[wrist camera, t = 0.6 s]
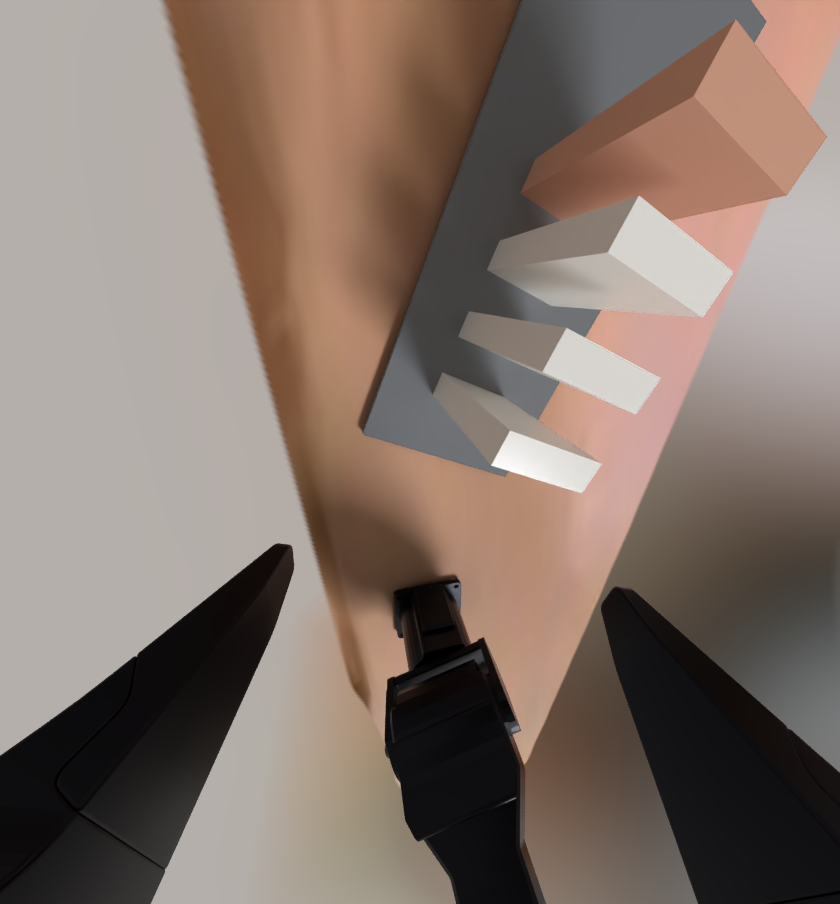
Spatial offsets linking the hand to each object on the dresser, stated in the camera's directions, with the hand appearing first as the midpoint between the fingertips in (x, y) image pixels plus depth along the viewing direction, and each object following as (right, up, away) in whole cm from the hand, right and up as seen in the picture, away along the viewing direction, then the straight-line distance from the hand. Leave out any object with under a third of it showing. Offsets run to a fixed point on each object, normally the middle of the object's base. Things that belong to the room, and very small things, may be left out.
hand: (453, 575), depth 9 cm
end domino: (+7, +18, +9) cm, 21 cm away
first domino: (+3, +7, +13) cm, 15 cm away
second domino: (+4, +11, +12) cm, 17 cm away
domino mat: (+6, +15, +11) cm, 20 cm away
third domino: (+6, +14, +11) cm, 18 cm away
